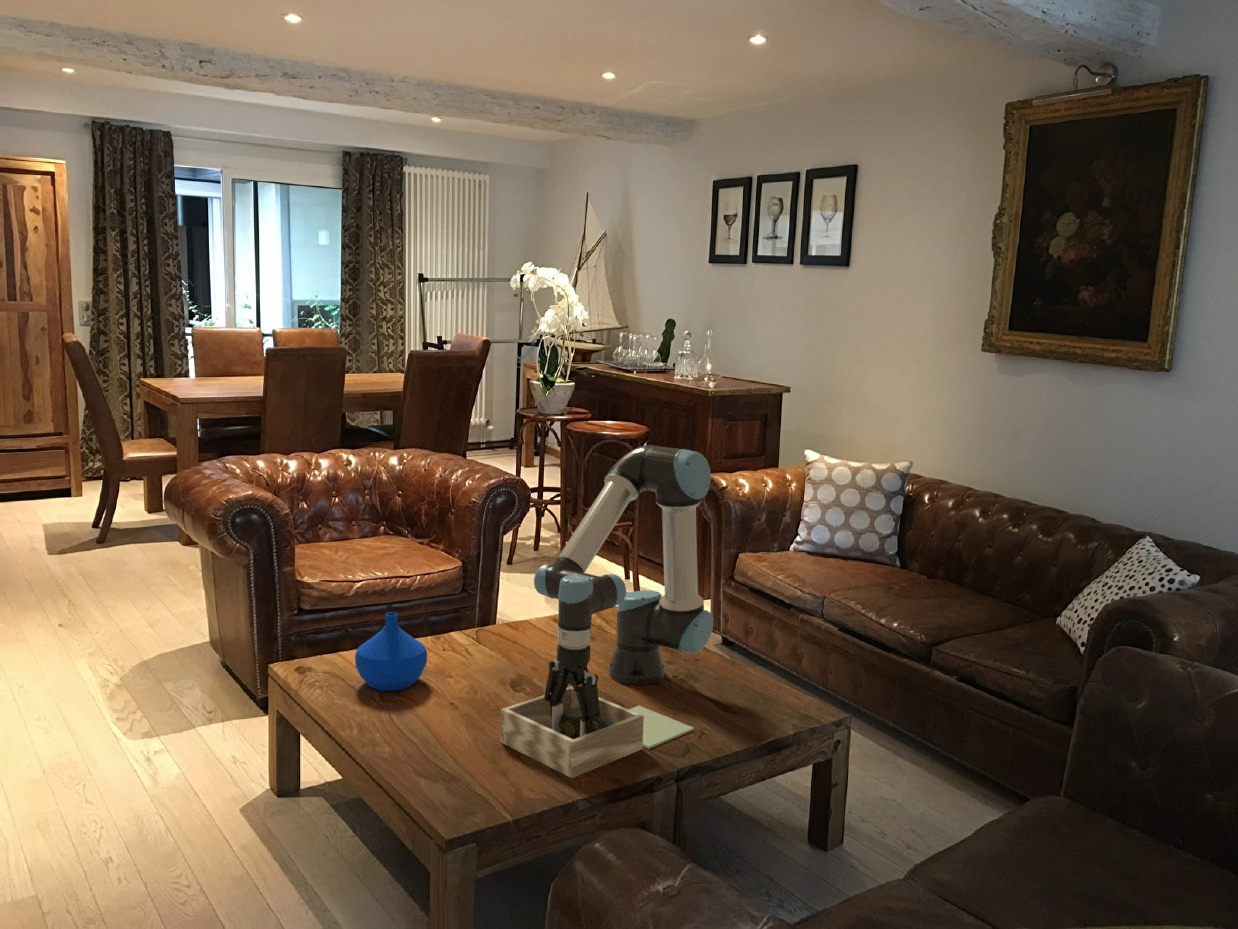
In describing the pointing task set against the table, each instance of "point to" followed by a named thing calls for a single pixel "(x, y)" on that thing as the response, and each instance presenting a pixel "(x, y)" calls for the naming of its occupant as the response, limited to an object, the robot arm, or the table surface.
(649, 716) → the pad
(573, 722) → the sculpture
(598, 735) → the frame
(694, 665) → the table surface
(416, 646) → the vase
